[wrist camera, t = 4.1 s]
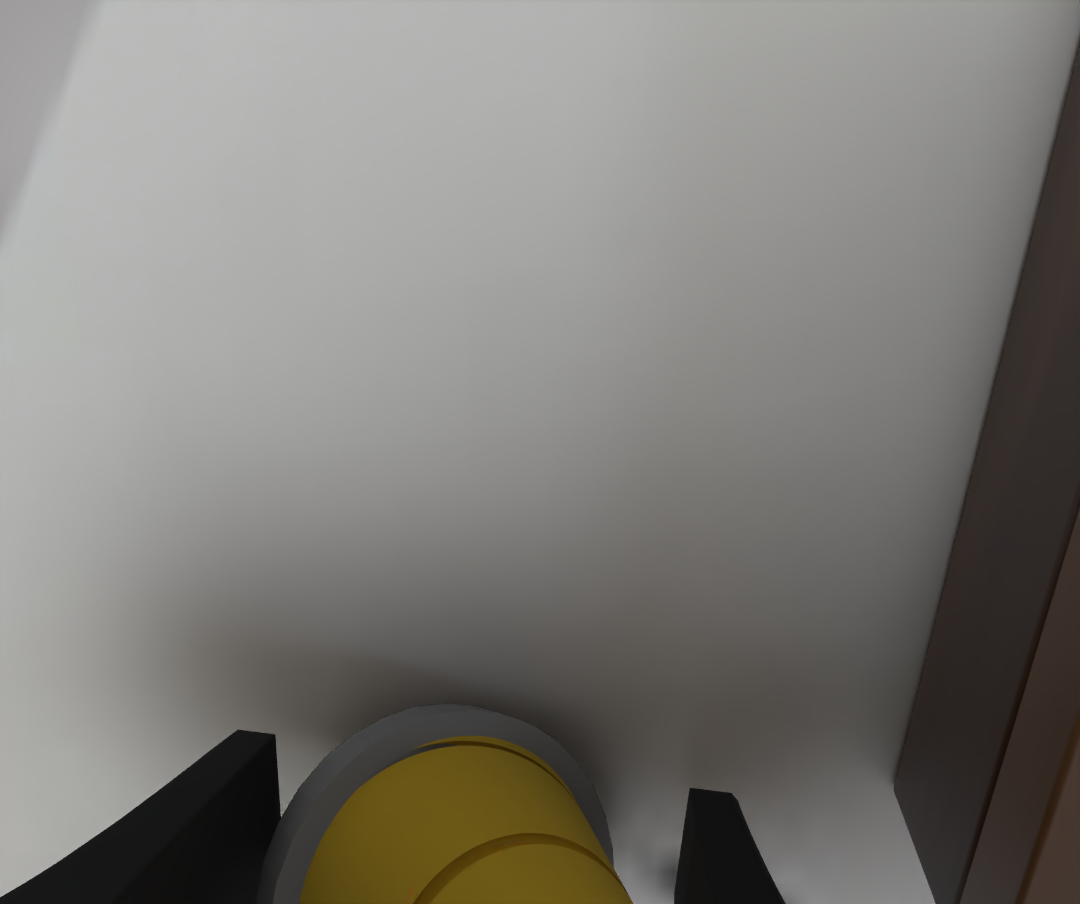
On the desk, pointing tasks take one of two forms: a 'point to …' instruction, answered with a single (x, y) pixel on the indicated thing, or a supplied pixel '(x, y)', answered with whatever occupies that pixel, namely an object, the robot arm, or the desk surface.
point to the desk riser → (1013, 606)
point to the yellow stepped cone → (443, 819)
